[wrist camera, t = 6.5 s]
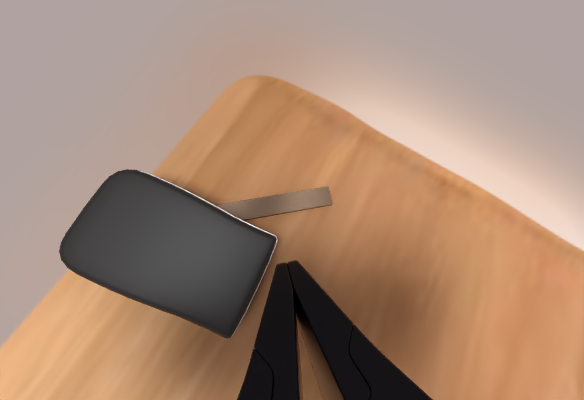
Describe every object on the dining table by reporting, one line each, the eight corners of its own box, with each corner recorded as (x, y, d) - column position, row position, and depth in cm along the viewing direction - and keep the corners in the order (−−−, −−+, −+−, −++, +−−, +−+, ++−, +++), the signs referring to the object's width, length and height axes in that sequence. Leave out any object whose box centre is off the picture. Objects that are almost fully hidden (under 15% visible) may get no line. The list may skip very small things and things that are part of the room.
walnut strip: (327, 188, 19) (328, 186, 18) (331, 205, 18) (332, 203, 18) (205, 208, 18) (203, 207, 17) (207, 226, 17) (205, 226, 17)
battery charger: (277, 237, 18) (146, 174, 17) (283, 235, 14) (117, 155, 14) (236, 325, 16) (88, 258, 16) (231, 347, 13) (37, 262, 12)
